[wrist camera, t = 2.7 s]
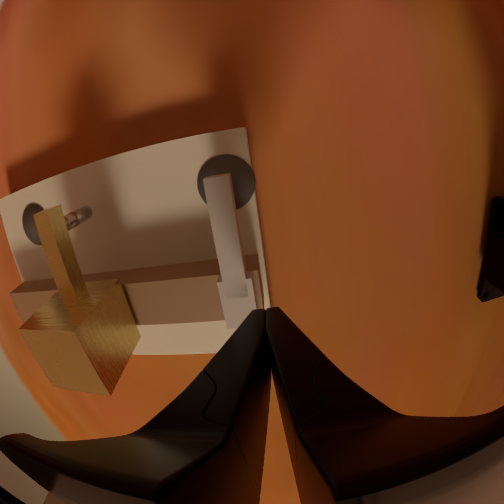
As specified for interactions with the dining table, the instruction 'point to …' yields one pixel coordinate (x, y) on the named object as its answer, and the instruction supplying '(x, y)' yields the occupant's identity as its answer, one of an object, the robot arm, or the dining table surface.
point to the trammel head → (78, 316)
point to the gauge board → (156, 238)
